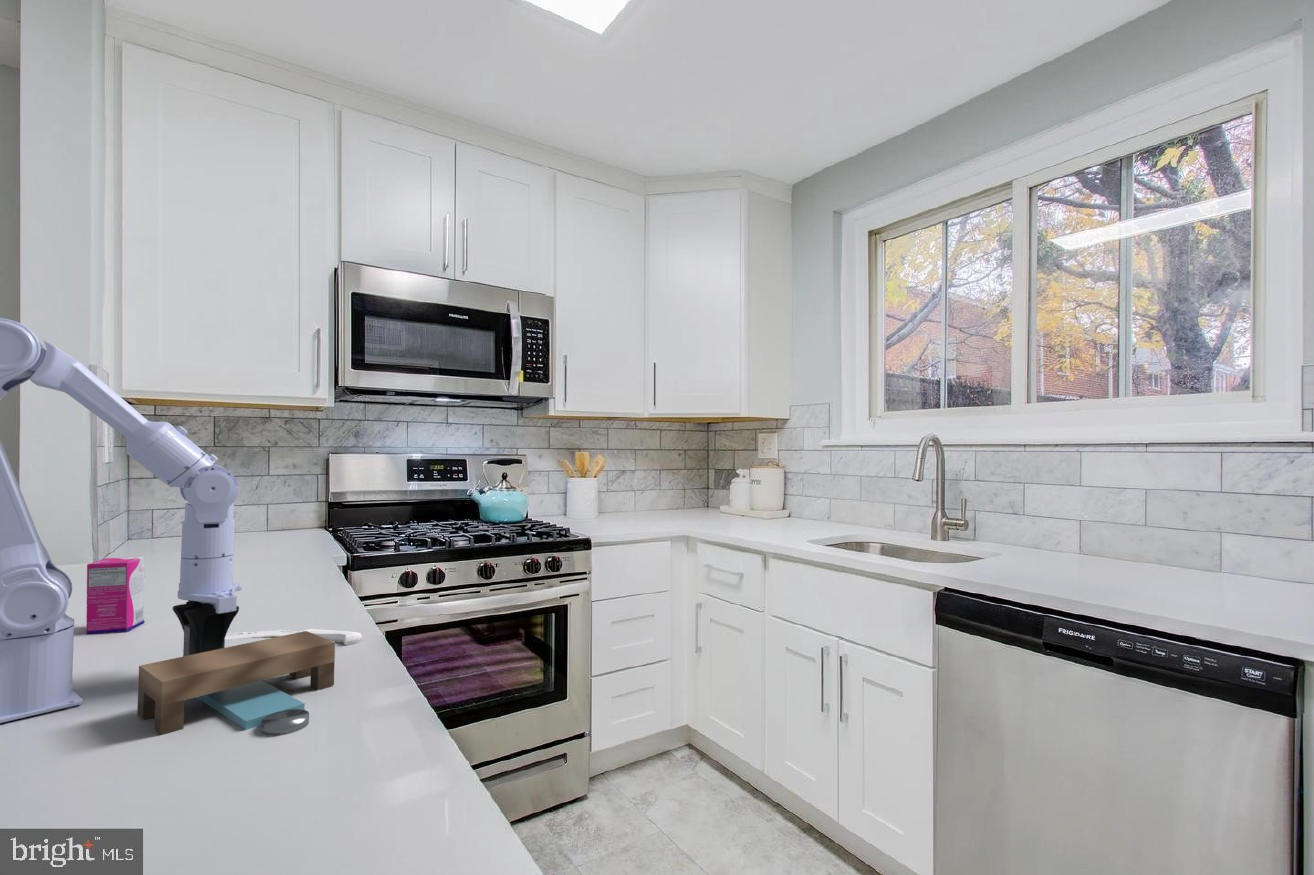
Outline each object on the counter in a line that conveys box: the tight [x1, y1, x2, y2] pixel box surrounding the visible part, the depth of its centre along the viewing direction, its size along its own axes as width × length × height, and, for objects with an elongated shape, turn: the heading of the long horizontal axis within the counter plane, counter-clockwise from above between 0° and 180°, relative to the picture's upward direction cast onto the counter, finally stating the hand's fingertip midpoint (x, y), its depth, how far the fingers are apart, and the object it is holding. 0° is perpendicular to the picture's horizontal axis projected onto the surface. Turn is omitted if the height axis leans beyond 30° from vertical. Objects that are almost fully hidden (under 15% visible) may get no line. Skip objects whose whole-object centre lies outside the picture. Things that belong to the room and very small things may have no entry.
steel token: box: [260, 709, 310, 736], centre depth 68 cm, size 4×4×1 cm
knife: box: [225, 628, 363, 646], centre depth 99 cm, size 30×2×8 cm
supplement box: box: [85, 555, 146, 635], centre depth 103 cm, size 6×6×12 cm
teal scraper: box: [182, 624, 305, 731], centre depth 76 cm, size 6×23×7 cm, turn 53°
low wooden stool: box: [136, 630, 336, 735], centre depth 75 cm, size 18×8×6 cm, turn 143°
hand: (204, 658), depth 82 cm, fingers open, 2 cm apart
